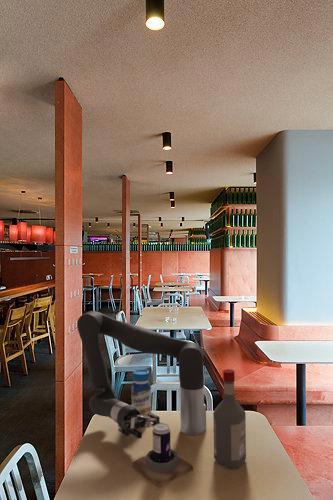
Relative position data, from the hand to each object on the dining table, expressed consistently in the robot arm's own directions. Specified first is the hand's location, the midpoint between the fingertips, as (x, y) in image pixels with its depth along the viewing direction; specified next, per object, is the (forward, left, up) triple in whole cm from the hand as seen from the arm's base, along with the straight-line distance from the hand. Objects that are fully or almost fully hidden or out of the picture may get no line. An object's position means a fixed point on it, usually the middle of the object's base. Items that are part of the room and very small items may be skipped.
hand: (151, 431), depth 131 cm
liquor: (-20, +17, -10) cm, 28 cm away
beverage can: (0, +5, -9) cm, 10 cm away
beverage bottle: (-15, -27, -10) cm, 33 cm away
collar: (0, +6, -8) cm, 10 cm away
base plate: (0, +6, -10) cm, 11 cm away
